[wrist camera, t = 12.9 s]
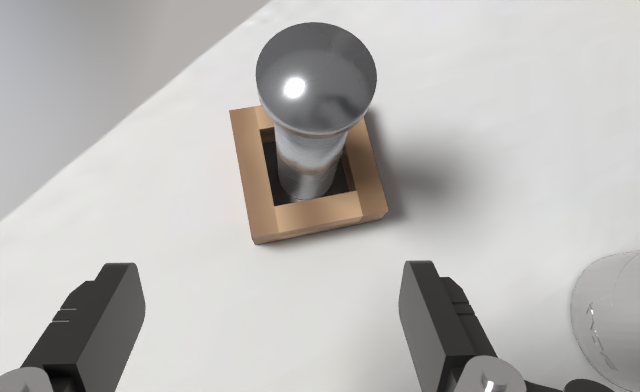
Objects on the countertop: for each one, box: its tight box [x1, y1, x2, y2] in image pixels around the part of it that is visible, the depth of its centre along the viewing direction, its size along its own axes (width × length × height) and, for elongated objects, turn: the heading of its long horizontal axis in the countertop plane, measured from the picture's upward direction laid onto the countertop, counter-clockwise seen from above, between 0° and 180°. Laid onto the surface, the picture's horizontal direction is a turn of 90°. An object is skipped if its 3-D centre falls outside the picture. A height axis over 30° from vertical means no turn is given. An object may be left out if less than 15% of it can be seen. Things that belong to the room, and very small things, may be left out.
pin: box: [256, 22, 377, 200], centre depth 24 cm, size 5×5×13 cm
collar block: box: [229, 105, 389, 245], centre depth 29 cm, size 9×9×2 cm
